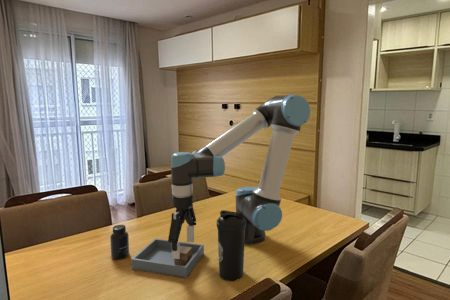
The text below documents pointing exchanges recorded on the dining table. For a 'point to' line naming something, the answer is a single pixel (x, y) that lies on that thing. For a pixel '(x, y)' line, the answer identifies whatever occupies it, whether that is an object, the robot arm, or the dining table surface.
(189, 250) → the walnut cube
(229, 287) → the dining table surface
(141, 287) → the dining table surface
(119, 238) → the supplement bottle
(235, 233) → the water bottle
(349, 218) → the dining table surface
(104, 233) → the dining table surface
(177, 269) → the tray
